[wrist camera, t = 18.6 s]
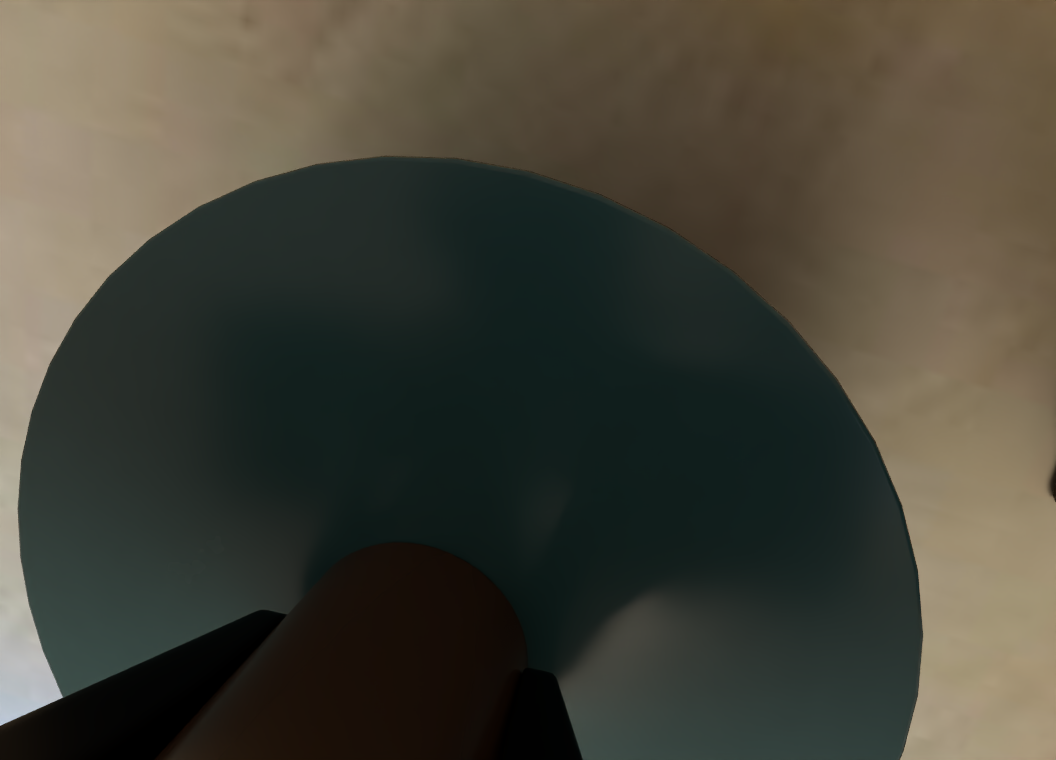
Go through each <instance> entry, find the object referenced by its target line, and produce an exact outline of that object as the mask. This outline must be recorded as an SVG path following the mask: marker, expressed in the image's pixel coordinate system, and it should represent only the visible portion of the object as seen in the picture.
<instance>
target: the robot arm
mask: <svg viewBox="0 0 1056 760" xmlns="http://www.w3.org/2000/svg"><path fill="white" fill-rule="evenodd" d="M1053 496H1054V499H1055V502H1056V484H1055V487H1054V491H1053ZM286 616H287V614H284V613H279V612H275V611H270V610H258V611H256V612H253V613H251V614H249V615H247V616H244V617H242V618H240V619H238V620H235V621H233V622H231V623H229V624H226V625H224V626H222V627H220V628H218V629H215V630H213V631H211V632H209V633H206V634H204V635H202V636H200V637H197V638H195V639H193V640H191V641H189V642H186V643H184V644H182V645H180V646H177V647H175V648H173V649H171V650H168V651H166V652H164V653H162V654H160V655H157V656H155V657H153V658H151V659H148V660H146V661H144V662H142V663H139V664H137V665H135V666H133V667H130V668H128V669H126V670H124V671H122V672H119V673H117V674H115V675H113V676H110V677H108V678H106V679H104V680H101V681H99V682H97V683H95V684H93V685H90V686H88V687H86V688H84V689H81V690H79V691H77V692H75V693H72V694H70V695H68V696H66V697H64V698H61V699H59V700H57V701H55V702H52V703H50V704H48V705H46V706H43V707H41V708H39V709H37V710H34V711H32V712H30V713H28V714H26V715H23V716H21V717H19V718H17V719H14V720H12V721H10V722H8V723H5V724H3V725H1V726H0V760H155V759H156V757H157V756H158V755H159V754H160V753H161V752H162V751H163V750H164V749H165V748H166V747H167V745H168V744H169V743H170V742H171V741H172V740H173V739H174V738H175V737H176V736H177V735H178V733H179V732H180V731H181V730H182V729H183V728H184V727H185V726H186V725H187V724H188V723H189V721H190V720H191V719H192V718H193V717H194V716H195V715H196V714H197V713H198V712H199V711H200V709H201V708H202V707H203V706H204V705H205V704H206V703H207V702H208V701H209V700H210V699H211V697H212V696H213V695H214V694H215V693H216V692H217V691H218V690H219V689H220V688H221V687H222V685H223V684H224V683H225V682H226V681H227V680H228V679H229V678H230V677H231V676H232V675H233V673H234V672H235V671H236V670H237V669H238V668H239V667H240V666H241V665H242V664H243V662H244V661H245V660H246V659H247V658H248V657H249V656H250V655H251V654H252V653H253V652H254V650H255V649H256V648H257V647H258V646H259V645H260V644H261V643H262V642H263V641H264V640H265V638H266V637H267V636H268V635H269V634H270V633H271V632H272V631H273V630H274V629H275V628H276V626H277V625H278V624H279V623H280V622H281V621H282V620H283V619H284V618H285V617H286ZM502 760H583V758H582V755H581V752H580V749H579V746H578V743H577V739H576V736H575V733H574V730H573V727H572V724H571V721H570V718H569V715H568V712H567V708H566V705H565V702H564V699H563V696H562V693H561V690H560V687H559V684H558V681H557V678H556V676H555V675H554V674H553V673H551V672H547V671H542V670H538V669H533V668H525V669H524V670H523V672H522V676H521V680H520V684H519V688H518V692H517V696H516V700H515V704H514V708H513V712H512V716H511V720H510V724H509V728H508V732H507V736H506V741H505V746H504V752H503V759H502Z"/></svg>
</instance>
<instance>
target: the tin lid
mask: <svg viewBox="0 0 1056 760" xmlns="http://www.w3.org/2000/svg"><path fill="white" fill-rule="evenodd" d="M18 523H19V541H20V558H21V563H22V569H23V574H24V580H25V585H26V591H27V597H28V602H29V606H30V610H31V613H32V616H33V620H34V623H35V626H36V630H37V633H38V636H39V639H40V643H41V646H42V649H43V652H44V654H45V657H46V659H47V661H48V664H49V666H50V669H51V671H52V673H53V676H54V678H55V680H56V683H57V685H58V687H59V690H60V692H61V694H62V696H63V698H64V697H66V696H68V695H70V694H72V693H75V692H77V691H79V690H81V689H84V688H86V687H88V686H90V685H93V684H95V683H97V682H99V681H101V680H104V679H106V678H108V677H110V676H113V675H115V674H117V673H119V672H122V671H124V670H126V669H128V668H130V667H133V666H135V665H137V664H139V663H142V662H144V661H146V660H148V659H151V658H153V657H155V656H157V655H160V654H162V653H164V652H166V651H168V650H171V649H173V648H175V647H177V646H180V645H182V644H184V643H186V642H189V641H191V640H193V639H195V638H197V637H200V636H202V635H204V634H206V633H209V632H211V631H213V630H215V629H218V628H220V627H222V626H224V625H226V624H229V623H231V622H233V621H235V620H238V619H240V618H242V617H244V616H247V615H249V614H251V613H253V612H256V611H258V610H270V611H275V612H279V613H284V614H287V616H286V617H285V618H284V619H283V620H282V621H281V622H280V623H279V624H278V625H277V626H276V628H275V629H274V630H273V631H272V632H271V633H270V634H269V635H268V636H267V637H266V638H265V640H264V641H263V642H262V643H261V644H260V645H259V646H258V647H257V648H256V649H255V650H254V652H253V653H252V654H251V655H250V656H249V657H248V658H247V659H246V660H245V661H244V662H243V664H242V665H241V666H240V667H239V668H238V669H237V670H236V671H235V672H234V673H233V675H232V676H231V677H230V678H229V679H228V680H227V681H226V682H225V683H224V684H223V685H222V687H221V688H220V689H219V690H218V691H217V692H216V693H215V694H214V695H213V696H212V697H211V699H210V700H209V701H208V702H207V703H206V704H205V705H204V706H203V707H202V708H201V709H200V711H199V712H198V713H197V714H196V715H195V716H194V717H193V718H192V719H191V720H190V721H189V723H188V724H187V725H186V726H185V727H184V728H183V729H182V730H181V731H180V732H179V733H178V735H177V736H176V737H175V738H174V739H173V740H172V741H171V742H170V743H169V744H168V745H167V747H166V748H165V749H164V750H163V751H162V752H161V753H160V754H159V755H158V756H157V757H156V759H155V760H502V759H503V752H504V746H505V741H506V736H507V732H508V728H509V724H510V720H511V716H512V712H513V708H514V704H515V700H516V696H517V692H518V688H519V684H520V680H521V676H522V672H523V670H524V669H525V668H533V669H538V670H542V671H547V672H551V673H553V674H554V675H555V676H556V678H557V681H558V684H559V687H560V690H561V693H562V696H563V699H564V702H565V705H566V708H567V712H568V715H569V718H570V721H571V724H572V727H573V730H574V733H575V736H576V739H577V743H578V746H579V749H580V752H581V755H582V758H583V760H900V758H901V756H902V753H903V751H904V747H905V743H906V739H907V735H908V731H909V728H910V724H911V720H912V716H913V712H914V708H915V704H916V701H917V697H918V688H919V676H920V664H921V653H922V641H923V629H922V617H921V604H920V592H919V579H918V569H917V565H916V561H915V557H914V552H913V548H912V544H911V540H910V536H909V532H908V528H907V524H906V520H905V516H904V512H903V508H902V504H901V502H900V499H899V497H898V495H897V492H896V490H895V487H894V485H893V483H892V480H891V478H890V476H889V473H888V471H887V468H886V466H885V464H884V461H883V459H882V457H881V454H880V452H879V449H878V447H877V445H876V442H875V440H874V438H873V437H872V435H871V434H870V432H869V430H868V429H867V427H866V425H865V424H864V422H863V420H862V419H861V417H860V416H859V414H858V412H857V411H856V409H855V407H854V406H853V404H852V403H851V401H850V399H849V398H848V396H847V394H846V393H845V391H844V389H843V388H842V386H841V385H840V383H839V381H838V380H837V378H836V377H835V376H834V375H833V373H832V372H831V371H830V370H829V369H828V367H827V366H826V365H825V364H824V363H823V361H822V360H821V359H820V358H819V357H818V355H817V354H816V353H815V352H814V351H813V349H812V348H811V347H810V346H809V345H808V343H807V342H806V341H805V340H804V339H803V337H802V336H801V335H800V334H799V333H798V331H797V330H796V329H795V328H794V327H793V326H792V324H791V323H790V322H789V321H788V320H787V319H786V318H785V317H784V316H782V315H781V314H780V313H779V312H778V311H777V310H776V309H775V308H774V307H772V306H771V305H770V304H769V303H768V302H767V301H766V300H765V299H764V298H762V297H761V296H760V295H759V294H758V293H757V292H756V291H755V290H754V289H752V288H751V287H750V286H749V285H748V284H747V283H746V282H745V281H744V280H742V279H741V278H740V277H739V276H738V275H737V274H736V273H735V272H734V271H732V270H731V269H729V268H728V267H726V266H725V265H723V264H722V263H720V262H719V261H718V260H716V259H715V258H713V257H712V256H710V255H709V254H707V253H706V252H704V251H703V250H701V249H700V248H698V247H697V246H695V245H694V244H692V243H691V242H689V241H688V240H686V239H685V238H683V237H682V236H680V235H679V234H677V233H676V232H674V231H673V230H672V229H670V228H668V227H666V226H664V225H662V224H660V223H658V222H656V221H654V220H652V219H650V218H648V217H646V216H644V215H642V214H640V213H638V212H636V211H634V210H632V209H629V208H627V207H625V206H623V205H621V204H619V203H617V202H615V201H613V200H611V199H609V198H607V197H605V196H603V195H601V194H598V193H595V192H592V191H589V190H586V189H583V188H580V187H577V186H574V185H571V184H567V183H564V182H561V181H558V180H555V179H552V178H549V177H546V176H543V175H540V174H537V173H534V172H531V171H527V170H521V169H515V168H510V167H504V166H498V165H493V164H487V163H481V162H476V161H470V160H464V159H459V158H439V157H406V156H380V157H371V158H363V159H354V160H346V161H337V162H329V163H320V164H315V165H312V166H308V167H304V168H301V169H297V170H294V171H290V172H286V173H283V174H279V175H275V176H272V177H268V178H264V179H261V180H257V181H255V182H252V183H250V184H248V185H246V186H243V187H241V188H239V189H237V190H235V191H232V192H230V193H228V194H226V195H223V196H221V197H219V198H217V199H215V200H212V201H210V202H208V203H206V204H204V205H201V206H199V207H198V208H196V209H195V210H193V211H192V212H190V213H189V214H187V215H186V216H184V217H182V218H181V219H179V220H178V221H176V222H175V223H173V224H172V225H170V226H169V227H167V228H166V229H164V230H163V231H161V232H160V233H158V234H157V235H155V236H154V237H152V238H151V239H149V240H148V241H147V242H146V243H145V244H144V245H143V246H141V247H140V248H139V249H138V250H137V251H136V252H135V253H134V254H133V255H132V256H131V257H129V258H128V259H127V260H126V261H125V262H124V263H123V264H122V265H121V266H120V267H119V268H118V269H116V270H115V271H114V272H113V273H112V274H111V275H110V276H109V277H108V278H107V279H106V280H105V282H104V283H103V284H102V286H101V287H100V288H99V289H98V291H97V292H96V293H95V294H94V296H93V297H92V298H91V299H90V301H89V302H88V303H87V304H86V306H85V307H84V308H83V310H82V311H81V312H80V313H79V315H78V316H77V317H76V318H75V320H74V322H73V323H72V325H71V327H70V329H69V331H68V332H67V334H66V336H65V338H64V340H63V341H62V343H61V345H60V347H59V348H58V350H57V352H56V354H55V356H54V357H53V359H52V361H51V363H50V365H49V367H48V370H47V373H46V375H45V378H44V381H43V383H42V386H41V389H40V391H39V394H38V397H37V399H36V402H35V405H34V407H33V410H32V413H31V418H30V422H29V427H28V432H27V436H26V441H25V446H24V450H23V455H22V459H21V472H20V485H19V498H18Z"/></svg>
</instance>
